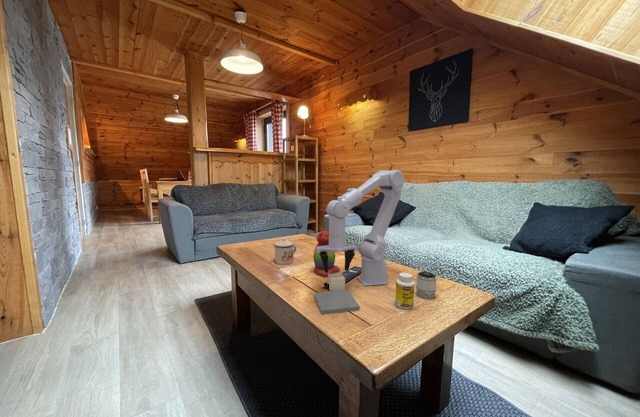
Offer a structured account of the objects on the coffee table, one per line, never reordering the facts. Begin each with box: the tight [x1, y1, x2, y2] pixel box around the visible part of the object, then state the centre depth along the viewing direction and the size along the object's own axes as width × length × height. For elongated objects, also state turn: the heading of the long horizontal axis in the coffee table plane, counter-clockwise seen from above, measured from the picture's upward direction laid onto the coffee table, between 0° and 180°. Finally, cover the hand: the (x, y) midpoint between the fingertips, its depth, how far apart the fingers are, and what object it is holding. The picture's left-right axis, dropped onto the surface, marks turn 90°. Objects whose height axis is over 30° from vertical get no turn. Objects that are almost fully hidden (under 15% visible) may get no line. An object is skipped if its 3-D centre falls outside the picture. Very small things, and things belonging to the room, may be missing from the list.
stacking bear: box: [313, 229, 340, 278], centre depth 112 cm, size 11×10×18 cm
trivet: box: [313, 289, 361, 315], centre depth 85 cm, size 12×12×1 cm
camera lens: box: [415, 271, 437, 300], centre depth 90 cm, size 6×6×8 cm
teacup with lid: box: [274, 237, 297, 266], centre depth 125 cm, size 12×9×12 cm
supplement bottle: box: [394, 272, 416, 310], centre depth 83 cm, size 6×6×10 cm
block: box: [327, 272, 346, 292], centre depth 95 cm, size 5×5×5 cm
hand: (336, 271), depth 94 cm, fingers open, 7 cm apart
